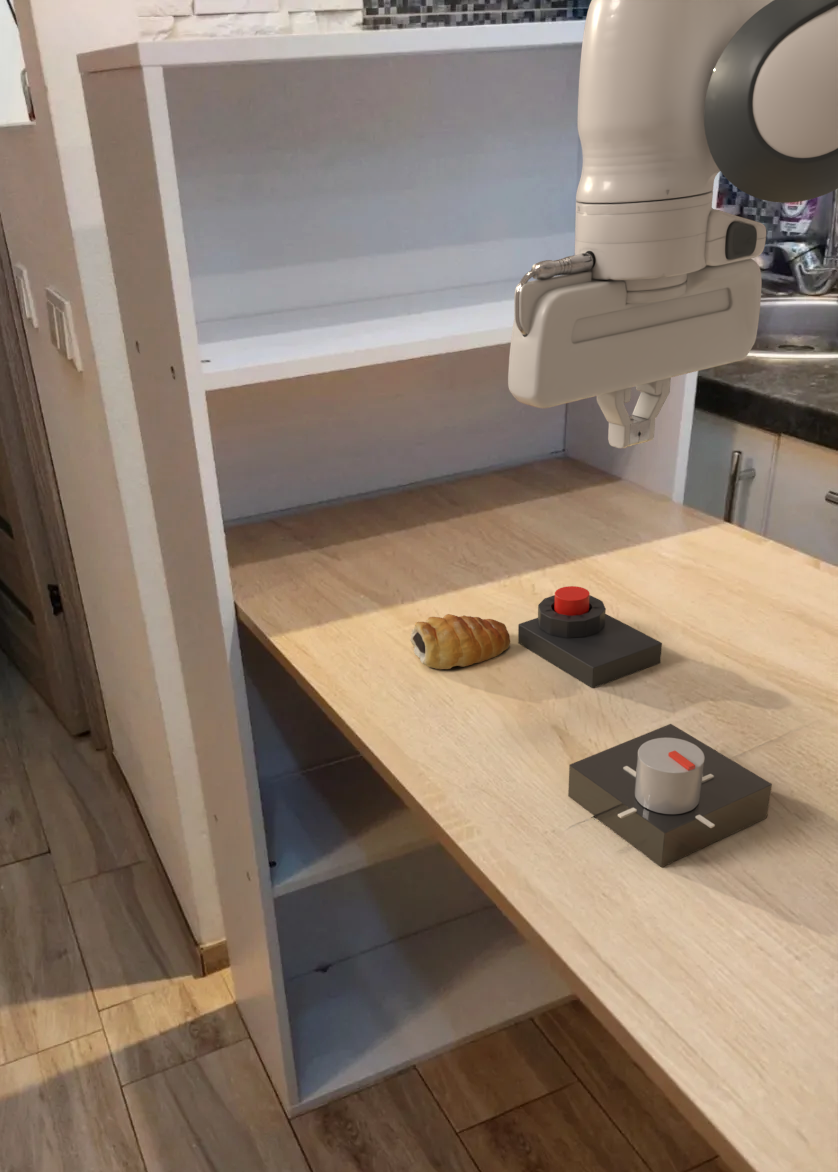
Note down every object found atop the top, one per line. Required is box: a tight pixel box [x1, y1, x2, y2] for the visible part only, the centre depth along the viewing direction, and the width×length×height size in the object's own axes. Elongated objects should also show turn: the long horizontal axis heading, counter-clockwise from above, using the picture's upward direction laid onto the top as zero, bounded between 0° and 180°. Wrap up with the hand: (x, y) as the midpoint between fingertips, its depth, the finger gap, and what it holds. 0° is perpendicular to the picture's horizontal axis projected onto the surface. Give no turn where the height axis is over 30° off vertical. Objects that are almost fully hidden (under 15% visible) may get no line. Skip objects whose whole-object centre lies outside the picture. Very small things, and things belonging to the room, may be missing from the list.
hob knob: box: [635, 738, 705, 814], centre depth 71 cm, size 4×4×4 cm
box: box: [517, 594, 663, 689], centre depth 96 cm, size 8×11×4 cm
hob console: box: [567, 723, 773, 868], centre depth 75 cm, size 11×11×3 cm
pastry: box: [409, 613, 511, 671], centre depth 99 cm, size 9×7×4 cm
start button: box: [554, 585, 591, 616], centre depth 97 cm, size 3×3×2 cm
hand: (630, 443), depth 77 cm, fingers closed
